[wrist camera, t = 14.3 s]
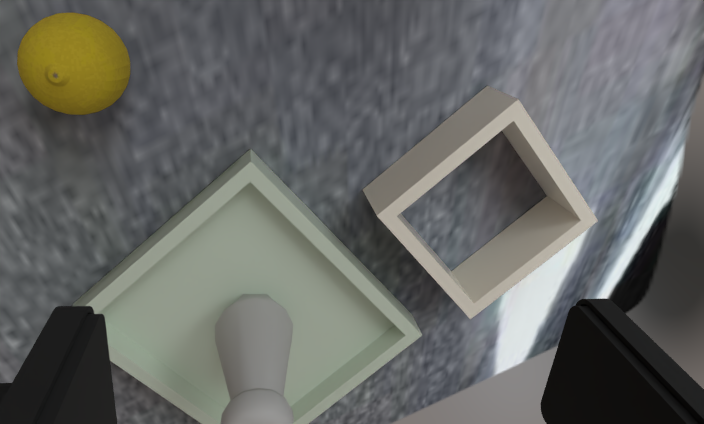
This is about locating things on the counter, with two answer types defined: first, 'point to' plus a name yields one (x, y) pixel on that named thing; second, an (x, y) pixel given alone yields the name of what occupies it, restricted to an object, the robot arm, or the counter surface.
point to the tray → (247, 278)
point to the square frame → (513, 242)
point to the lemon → (73, 63)
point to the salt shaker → (255, 360)
